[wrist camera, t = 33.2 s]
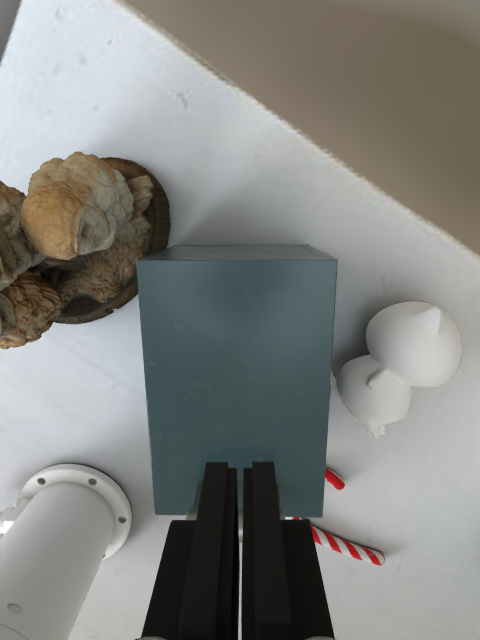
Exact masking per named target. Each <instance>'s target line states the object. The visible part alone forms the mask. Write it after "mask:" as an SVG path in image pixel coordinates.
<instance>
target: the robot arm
mask: <svg viewBox="0 0 480 640" xmlns="http://www.w3.org/2000/svg"><path fill="white" fill-rule="evenodd" d="M131 523H132V511H131V507H130V504H129V501H128V499H127V497H126V495H125V493H124V492H123V491H122V489H121V488H120V487H119V485H117V484H116V483H115V482H114V481H113V480H112V479H111V478H109V477H108V476H106V475H105V474H103V473H102V472H100V471H98V470H95V469H93V468H90V467H87V466H83V465H77V464H58V465H54V466H50V467H47V468H45V469H43V470H41V471H39V472H38V473H36V474H35V475H34V476H32V477H31V478H30V480H29V481H28V482H27V483H26V484H25V485H24V487H23V488H22V490H21V491H20V493H19V495H18V498H17V501H16V507H9V508H7V509H5V510H4V511H0V640H67V639H68V636H69V634H70V632H71V630H72V627H73V625H74V623H75V620H76V618H77V616H78V614H79V611H80V609H81V607H82V604H83V602H84V600H85V598H86V595H87V593H88V591H89V588H90V586H91V584H92V582H93V579H94V577H95V575H96V572H97V570H98V568H99V566H100V563H101V561H103V560H105V559H107V558H109V557H111V556H112V555H113V554H115V553H116V552H117V551H118V550H119V549H120V548H121V547H122V546H123V544H124V542H125V541H126V539H127V536H128V534H129V531H130V528H131ZM239 572H240V561H239V524H238V489H237V468H229V464H228V462H206V466H205V472H204V478H203V484H202V490H201V495H200V501H199V507H198V513H197V519H196V520H172V522H171V524H170V527H169V530H168V534H167V538H166V542H165V546H164V550H163V554H162V557H161V561H160V565H159V569H158V573H157V577H156V581H155V585H154V589H153V593H152V596H151V600H150V604H149V608H148V612H147V616H146V620H145V624H144V628H143V632H142V635H141V638H139V639H135V640H238V618H239ZM242 640H336V639H335V637H334V633H333V628H332V623H331V618H330V614H329V609H328V604H327V599H326V595H325V590H324V585H323V580H322V576H321V571H320V566H319V561H318V557H317V552H316V547H315V542H314V538H313V533H312V528H311V524H310V521H309V519H290V520H280V512H279V503H278V494H277V485H276V476H275V467H274V461H261V462H252V468H244V475H243V541H242Z"/></svg>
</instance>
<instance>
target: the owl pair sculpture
mask: <svg viewBox="0 0 480 640" xmlns="http://www.w3.org/2000/svg"><path fill="white" fill-rule="evenodd" d="M169 217H170V215H169V204H168V199H167V197H166V193H165V192H164V190H163V188H162V187H161V185H160V184H159V182H158V181H157V180H156V178H155V177H154V176H153V175H152V174H151V173H150V172H149V171H148V170H147V169H145V168H143V167H142V166H140V165H138V164H137V163H135V162H132V161H128V160H124V159H121V158H115V157H114V158H112V157H108V158H100V159H99V158H98V157H97V156H95V155H92V154H91V155H84V154H83V153H82V152H75V153H73V154H72V155H70V156H69V157H68V158H67V159H66V160H65V161H64V160H62V159H61V158H53V159H51V160H50V161H47V162H45V163H43V164H42V165H41V167H40V170H38V171H37V172H35V173H33V174H32V177H31V178H30V182H29V188H28V195H27V197H26V196H25V195H24V193H23V192H20V191H19V190H17V189H16V188H14V187H8V186H6V185H5V184H4V183H2V181H0V348H2V349H8V348H10V347H19V346H24V345H25V344H26V343H29V342H33V341H36V340H38V339H39V338H40V337H41V334H42V333H44V332H45V331H47V330H49V328H50V327H51V325H52V324H53V322H56V323H62V324H64V323H66V324H80V323H87V322H92V321H95V320H98V319H101V318H103V317H105V316H107V315H109V314H111V313H113V310H111V311H106V310H105V309H107V308H116V309H120V308H121V307H123V306H124V305H125V304H126V303H128V302H129V301H130V300H132V299H133V298H134V297H135V296H136V295H137V294H138V280H137V266H136V260H138V259H140V258H143V257H146V256H148V255H151V254H154V253H156V252H159V251H162V250H164V249H166V246H167V243H168V236H169V231H170V225H171V224H170V218H169Z"/></svg>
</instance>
